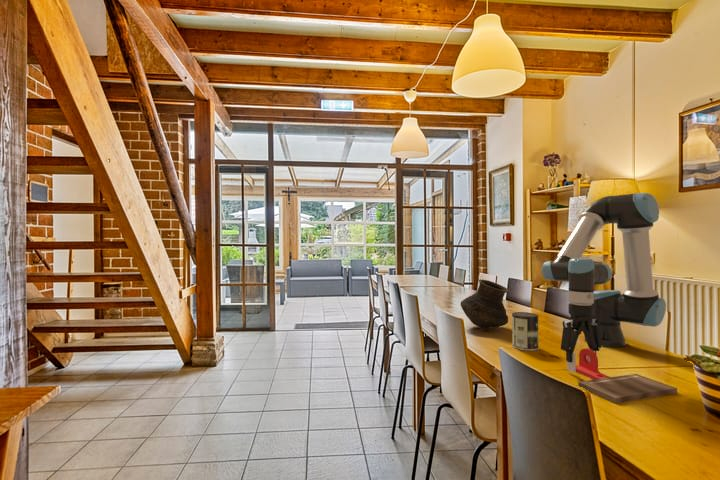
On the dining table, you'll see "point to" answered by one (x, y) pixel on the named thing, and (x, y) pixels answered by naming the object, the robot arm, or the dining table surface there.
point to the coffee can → (525, 331)
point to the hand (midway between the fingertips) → (581, 370)
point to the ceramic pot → (486, 305)
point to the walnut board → (627, 388)
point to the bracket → (589, 365)
